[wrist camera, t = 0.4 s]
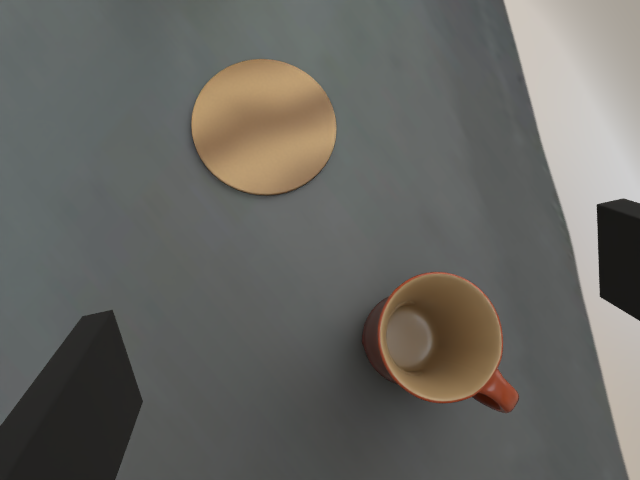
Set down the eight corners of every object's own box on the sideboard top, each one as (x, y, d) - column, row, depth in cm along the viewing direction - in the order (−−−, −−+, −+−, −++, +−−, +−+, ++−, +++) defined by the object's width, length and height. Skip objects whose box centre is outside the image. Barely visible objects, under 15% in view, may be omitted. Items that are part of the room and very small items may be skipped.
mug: (330, 345, 45) (351, 343, 35) (393, 268, 47) (430, 246, 37) (438, 439, 45) (492, 465, 35) (497, 357, 47) (564, 359, 37)
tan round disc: (363, 149, 49) (363, 148, 49) (241, 222, 46) (241, 221, 46) (286, 38, 50) (286, 35, 50) (164, 102, 48) (163, 100, 47)
